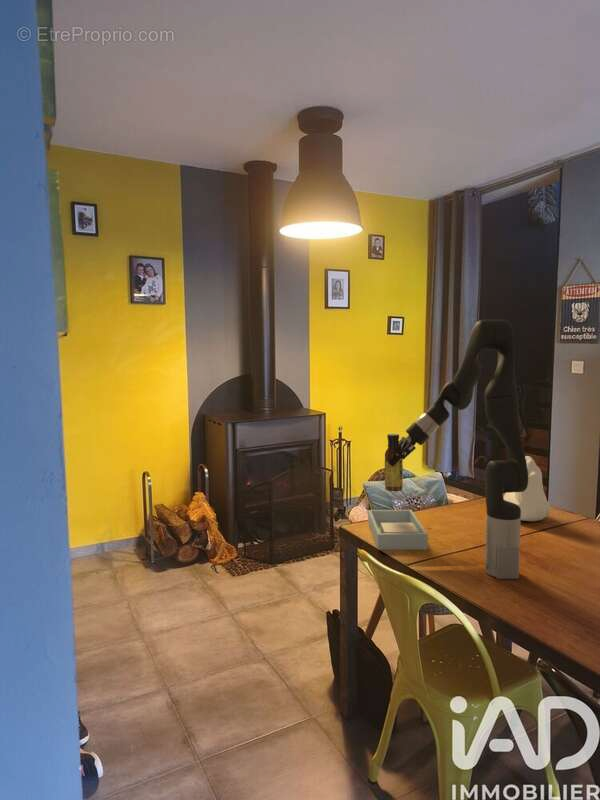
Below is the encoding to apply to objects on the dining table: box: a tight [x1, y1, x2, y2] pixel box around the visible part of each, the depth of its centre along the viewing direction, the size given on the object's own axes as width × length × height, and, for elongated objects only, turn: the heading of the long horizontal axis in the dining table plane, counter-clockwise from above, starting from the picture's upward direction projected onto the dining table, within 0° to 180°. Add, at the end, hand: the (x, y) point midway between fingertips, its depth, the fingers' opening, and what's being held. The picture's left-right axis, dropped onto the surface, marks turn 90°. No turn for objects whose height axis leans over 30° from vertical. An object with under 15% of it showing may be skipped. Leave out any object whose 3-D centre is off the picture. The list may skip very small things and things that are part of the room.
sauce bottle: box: [384, 433, 404, 492], centre depth 188 cm, size 7×6×20 cm
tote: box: [367, 509, 429, 551], centre depth 185 cm, size 26×16×6 cm, turn 0°
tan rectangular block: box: [380, 523, 418, 533], centre depth 179 cm, size 9×11×5 cm
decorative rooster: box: [503, 455, 551, 522], centre depth 206 cm, size 25×16×25 cm, turn 167°
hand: (388, 462), depth 189 cm, fingers closed on sauce bottle, 6 cm apart
